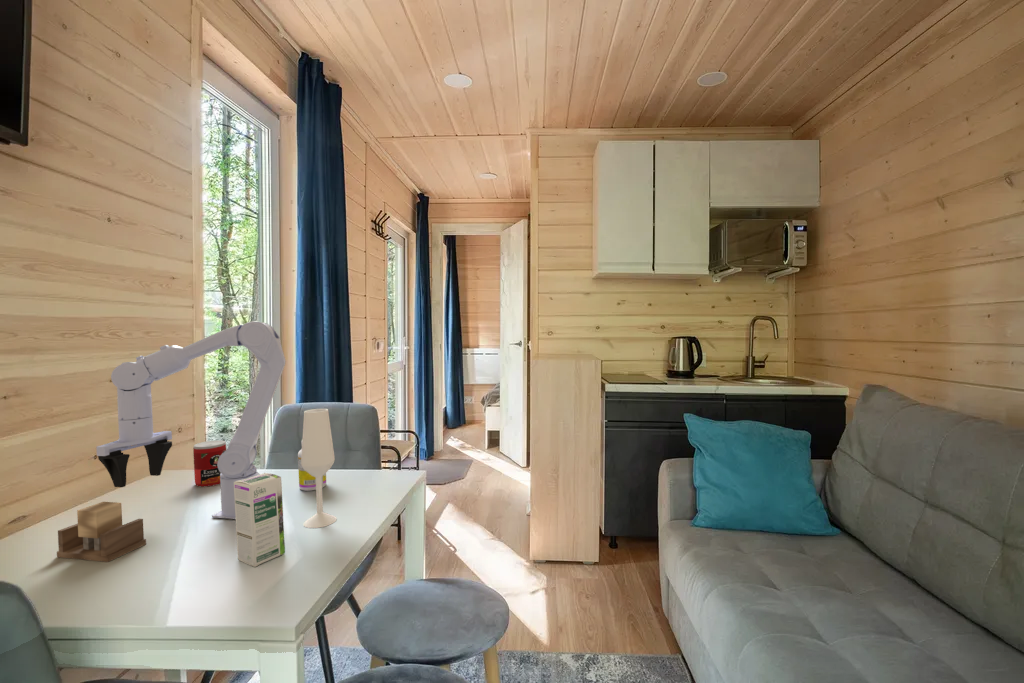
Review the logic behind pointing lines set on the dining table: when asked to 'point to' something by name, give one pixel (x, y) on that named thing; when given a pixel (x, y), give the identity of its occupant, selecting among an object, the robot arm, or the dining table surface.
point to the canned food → (207, 462)
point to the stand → (101, 542)
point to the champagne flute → (317, 458)
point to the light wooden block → (99, 519)
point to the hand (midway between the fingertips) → (138, 480)
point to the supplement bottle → (307, 477)
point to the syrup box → (259, 518)
